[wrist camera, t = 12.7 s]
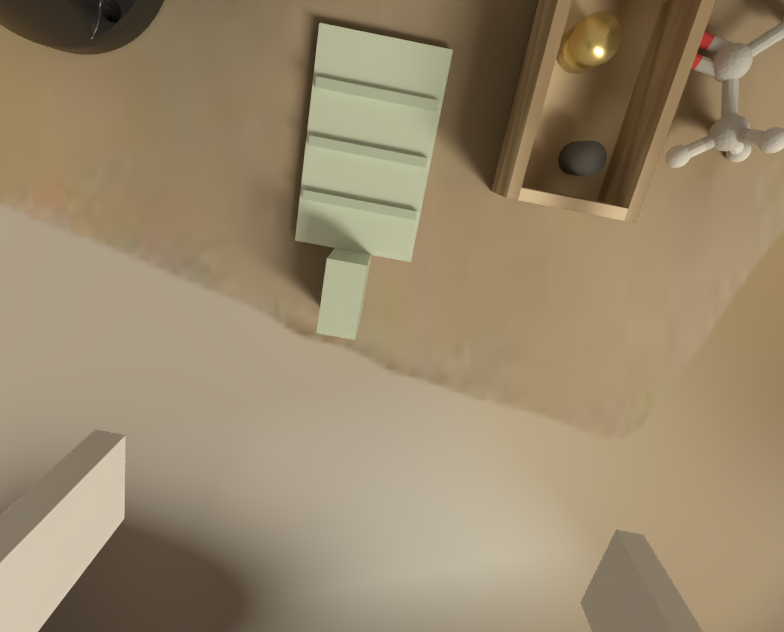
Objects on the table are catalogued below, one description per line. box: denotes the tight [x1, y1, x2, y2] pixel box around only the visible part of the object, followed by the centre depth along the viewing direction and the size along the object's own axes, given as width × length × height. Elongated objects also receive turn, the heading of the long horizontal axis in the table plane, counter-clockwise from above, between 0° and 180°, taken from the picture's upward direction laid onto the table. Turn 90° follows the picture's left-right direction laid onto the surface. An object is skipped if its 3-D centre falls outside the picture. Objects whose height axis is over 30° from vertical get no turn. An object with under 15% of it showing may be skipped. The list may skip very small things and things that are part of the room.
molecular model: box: [666, 15, 784, 168], centre depth 32 cm, size 14×8×10 cm
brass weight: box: [557, 12, 621, 74], centre depth 31 cm, size 3×3×4 cm
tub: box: [491, 0, 716, 223], centre depth 31 cm, size 9×15×6 cm, turn 170°
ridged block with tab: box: [295, 23, 453, 340], centre depth 35 cm, size 10×22×5 cm, turn 170°
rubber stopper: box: [558, 141, 607, 177], centre depth 34 cm, size 2×2×3 cm
